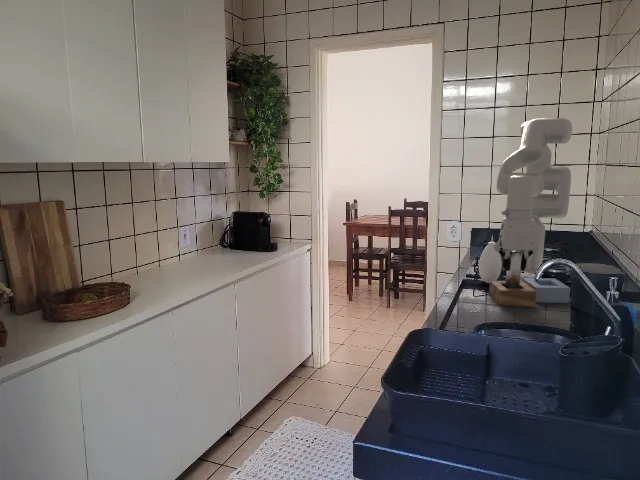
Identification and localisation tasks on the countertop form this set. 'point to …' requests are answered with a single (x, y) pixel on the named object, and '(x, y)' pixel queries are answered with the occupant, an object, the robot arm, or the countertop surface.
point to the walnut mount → (512, 294)
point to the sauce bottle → (490, 263)
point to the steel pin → (514, 270)
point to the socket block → (549, 290)
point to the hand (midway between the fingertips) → (513, 269)
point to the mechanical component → (527, 275)
